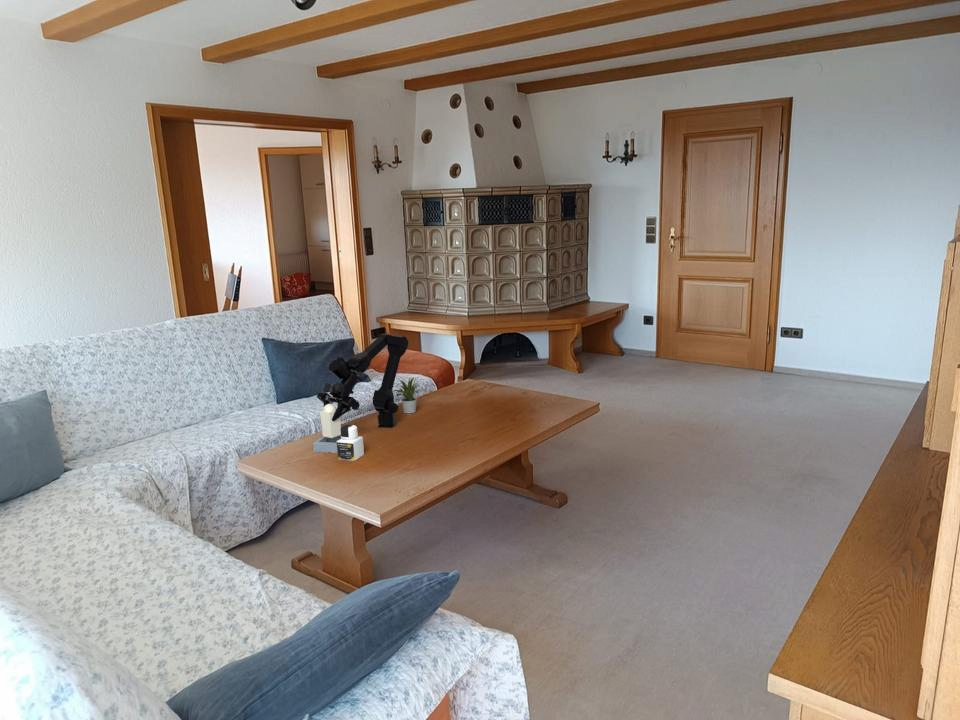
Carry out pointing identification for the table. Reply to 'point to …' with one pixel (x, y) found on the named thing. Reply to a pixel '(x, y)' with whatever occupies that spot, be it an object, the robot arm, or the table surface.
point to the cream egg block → (330, 422)
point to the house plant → (408, 396)
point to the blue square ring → (326, 444)
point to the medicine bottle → (350, 444)
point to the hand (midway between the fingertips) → (327, 419)
